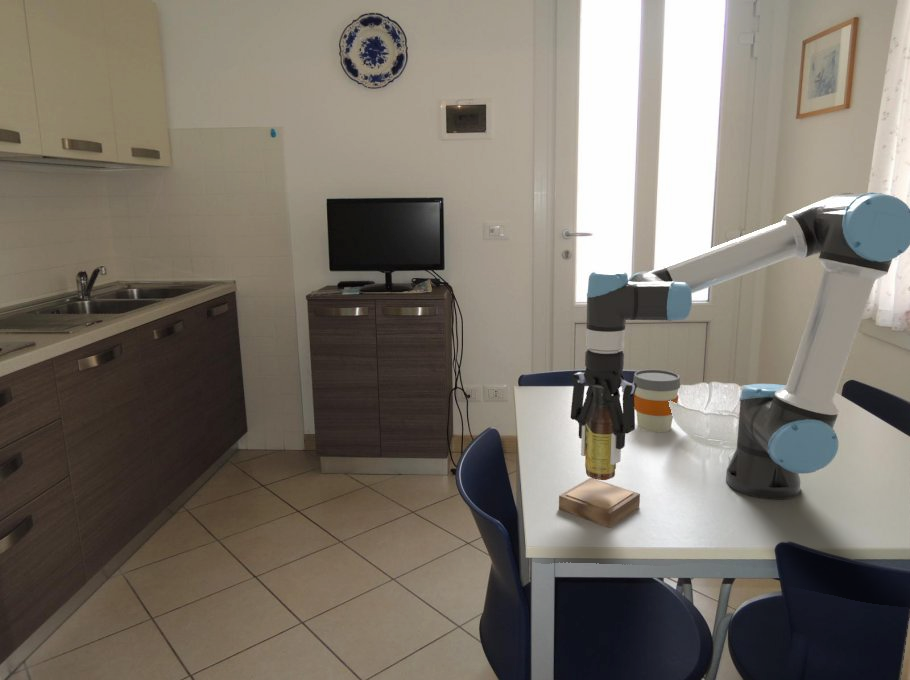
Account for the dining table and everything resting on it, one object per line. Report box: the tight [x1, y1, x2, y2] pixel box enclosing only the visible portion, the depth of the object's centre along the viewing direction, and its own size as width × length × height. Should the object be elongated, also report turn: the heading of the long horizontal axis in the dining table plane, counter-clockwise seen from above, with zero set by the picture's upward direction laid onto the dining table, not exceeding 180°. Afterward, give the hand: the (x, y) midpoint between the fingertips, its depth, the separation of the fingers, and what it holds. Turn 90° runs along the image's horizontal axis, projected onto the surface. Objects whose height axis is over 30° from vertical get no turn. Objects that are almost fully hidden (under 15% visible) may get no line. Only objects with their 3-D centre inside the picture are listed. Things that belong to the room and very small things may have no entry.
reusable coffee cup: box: [632, 369, 681, 433], centre depth 186 cm, size 13×13×15 cm
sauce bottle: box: [584, 384, 617, 481], centre depth 137 cm, size 7×6×20 cm
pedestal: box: [558, 477, 641, 529], centre depth 140 cm, size 12×12×3 cm
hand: (600, 458), depth 138 cm, fingers closed on sauce bottle, 6 cm apart
